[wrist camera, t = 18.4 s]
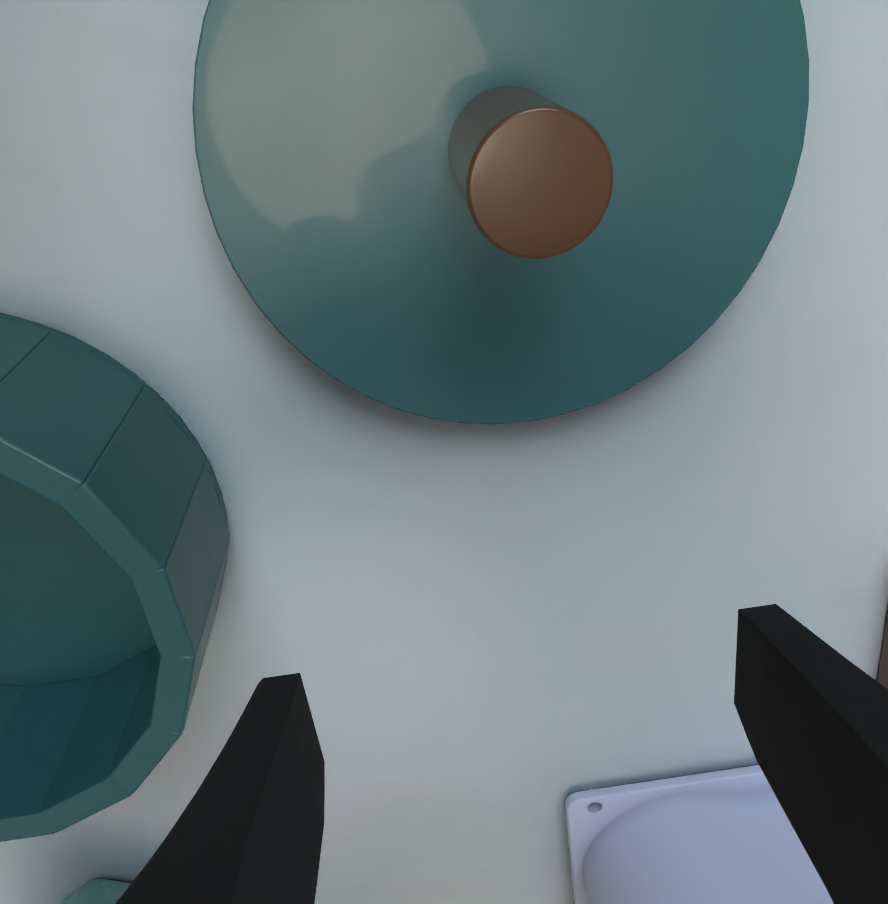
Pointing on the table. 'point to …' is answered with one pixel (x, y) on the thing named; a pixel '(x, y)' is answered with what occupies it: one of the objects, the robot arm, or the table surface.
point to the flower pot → (98, 892)
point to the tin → (95, 578)
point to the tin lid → (497, 184)
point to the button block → (884, 659)
